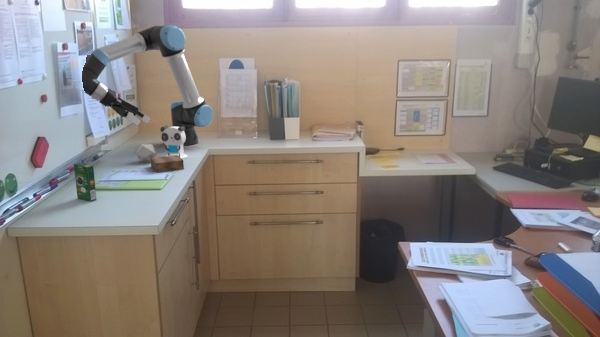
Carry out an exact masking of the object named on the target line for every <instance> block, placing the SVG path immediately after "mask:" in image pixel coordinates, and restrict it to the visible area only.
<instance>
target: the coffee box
mask: <svg viewBox="0 0 600 337" xmlns="http://www.w3.org/2000/svg"><path fill="white" fill-rule="evenodd" d="M94 168H95V167H94V165H91V164H86V163H82V162H77V163H73V169H74V171H73V172H74V177H75V186H76V187H75V188H76V196H77V199H79V200H84V201H87V202H94V201H97V192H96V181H95V180H96V179H95V171H94Z"/></svg>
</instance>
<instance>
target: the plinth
mask: <svg viewBox="0 0 600 337" xmlns="http://www.w3.org/2000/svg"><path fill="white" fill-rule="evenodd" d="M150 166H151V168H152V169H153V170H154V171H155V173H159V172H158V171H163V172H170V171H169V170H171V171H178V170H179V171H180V170H184V169H185V167H184V166H185V165H184V159H181V158H180V157H179V156H178V155H172V156H167V155H164V156H155V157H154V158H151V162H150Z"/></svg>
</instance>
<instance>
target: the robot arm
mask: <svg viewBox="0 0 600 337" xmlns="http://www.w3.org/2000/svg"><path fill="white" fill-rule="evenodd" d="M185 45H186V35H185V33H184V31H183V30H182V28H180V27H178V26H177V25H173V24H172V25H171V24H167V25H153V26H150V27H148V28H146V29H145V28H144V29H142V30H140V31H138V32H135V33H134V34H133V35H132V36H130V37H128V38H124V39H120V40H118V41H114V42H113V43H110V44H107V45H104V46H101V47H98V48H95V50H94V49H93V50H94V51H93V52H92V54H91V55H87V57H86V63H85V65H84V67H83V71H82V82H83V88H84V91H85V92H84V93H85V94H86V95H88V96H89V97H91V99H92V100H96V101H97V102H99V103H100V104H101V105H103V106H104V107H109V108H111V109H112V110H113V111H114V112H115V113H117V114H118V115H119V116H120V117H122V118H125V119H127V120H128V121H130V122H131V123H133V124H134V125H135V126H139V124H140V123H141V121H143V122H144V123H146V124H149V122H150V121H151V117H149V116H148V115H146V114H145V113H144V112H142V111H140V109H139V107H137V106H135V105H133V104H131V103H130V102H128V101H125V100H124V99H122V98H121V97H115V96H116V94H117V93H116V92H115V91H114V90H112V89H111V88H109V87H108V86H106V85H105V83H102V82H101V81H100V80H98V78H99V76H100V75H101V74H102V72H103V71H104V70H105V68H106V66H108V63H111V62H114V61H116V60H118V59H121V58H122V59H123V58H125V57H127V56H129V55H130V56H131V55H133V54H136V53H139V52H140V53H145V52H148V51H159V52H160V54H161V56H162V58H163V59H166V60H167V63H168V66H169V68H170V71H171V73H172V76H173V78H174V80H175V83H176V85H177V88H178V90H179V93H180V95H181V97H182V100H180V101H178V100H177V101H173V102H171V104H170V112H171V113H170V116H171V127H174V126H176V127H182V126H184V127H185V130H184V132H185V135H186V140H185V142H184V144H183V147H184V146H192V145H193V146H194V145H196V144H199V136H198V134H197V131H196V128H195V127H197V128H206V127H208V126H210V124H211V123H212V121H213V119H214V110H213V108H212V107H211V106H210V104H209V105H208V104H207V103H206V100H205V98H204V97H202V96H200V93H199V91H198V88H197V86H196V83H195V80H194V78H193V75H192V73H191V70H190V68H189V67H190V66H189V64H188V61H187V60H186V57H185V54H184V53H185V50H186V48H185Z"/></svg>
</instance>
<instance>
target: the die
mask: <svg viewBox="0 0 600 337" xmlns="http://www.w3.org/2000/svg"><path fill="white" fill-rule="evenodd" d="M135 154H136V156H137V158H138V160H139V162H140V163H151V158H154V157H157V154H158V153H157V151H156V149H155V147H154V145H153V144H152V143H151V144H150V143H149V144H148V143H145V144H142V143H141V144H140V145H139V147H138V148H137V150H136V152H135Z"/></svg>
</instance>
